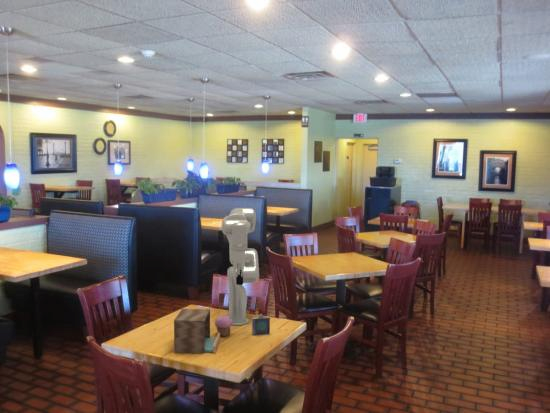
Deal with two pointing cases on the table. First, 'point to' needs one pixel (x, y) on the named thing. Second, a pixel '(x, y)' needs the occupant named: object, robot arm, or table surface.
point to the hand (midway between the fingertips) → (239, 284)
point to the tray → (211, 343)
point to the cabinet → (191, 330)
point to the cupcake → (223, 325)
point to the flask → (260, 325)
